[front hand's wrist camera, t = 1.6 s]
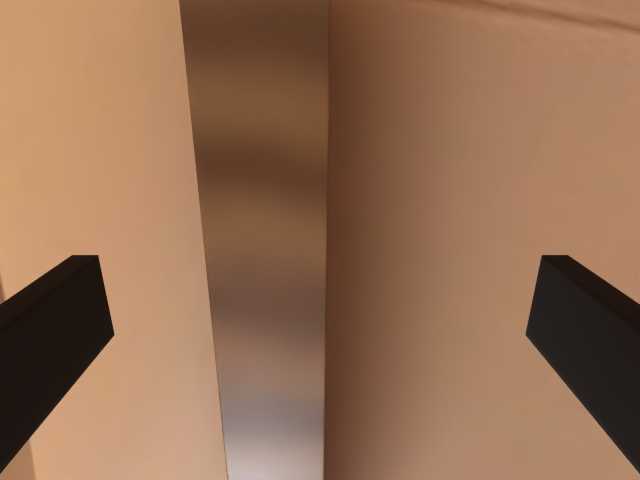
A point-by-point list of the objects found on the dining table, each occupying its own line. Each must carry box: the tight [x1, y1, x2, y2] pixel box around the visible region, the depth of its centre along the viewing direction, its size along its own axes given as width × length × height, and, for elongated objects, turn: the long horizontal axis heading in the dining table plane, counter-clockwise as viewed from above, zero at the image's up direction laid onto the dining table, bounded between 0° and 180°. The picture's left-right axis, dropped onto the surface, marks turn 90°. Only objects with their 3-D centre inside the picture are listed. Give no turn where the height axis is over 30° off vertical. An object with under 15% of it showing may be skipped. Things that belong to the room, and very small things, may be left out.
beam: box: [179, 0, 330, 480], centre depth 27 cm, size 50×5×8 cm, turn 0°
